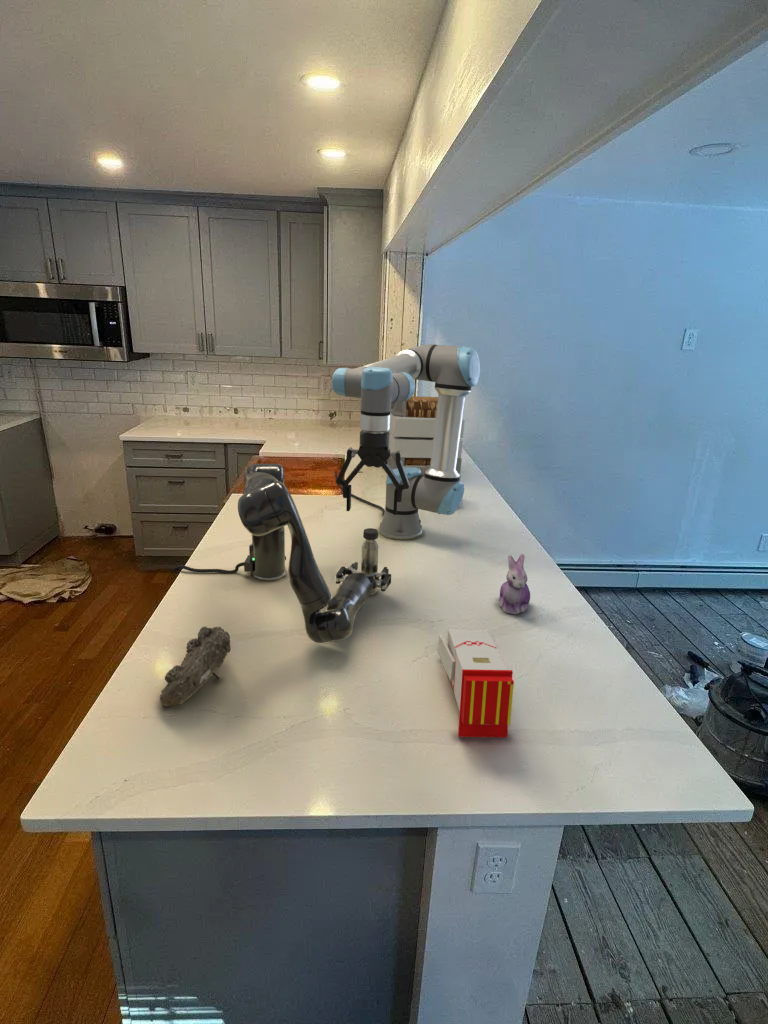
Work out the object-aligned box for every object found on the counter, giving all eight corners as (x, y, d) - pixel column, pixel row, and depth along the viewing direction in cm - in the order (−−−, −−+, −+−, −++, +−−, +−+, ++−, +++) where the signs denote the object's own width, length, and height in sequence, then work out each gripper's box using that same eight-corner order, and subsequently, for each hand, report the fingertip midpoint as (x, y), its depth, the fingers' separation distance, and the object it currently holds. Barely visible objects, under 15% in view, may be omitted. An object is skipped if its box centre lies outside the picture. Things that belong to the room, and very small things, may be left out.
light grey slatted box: (382, 463, 289) (386, 382, 275) (445, 464, 293) (451, 384, 279) (390, 482, 257) (394, 392, 243) (460, 483, 261) (468, 394, 247)
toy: (488, 613, 130) (523, 677, 101) (484, 667, 133) (517, 744, 104) (435, 612, 130) (455, 676, 101) (432, 666, 133) (451, 743, 103)
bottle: (364, 596, 156) (366, 536, 150) (357, 589, 160) (359, 530, 154) (379, 593, 158) (382, 534, 152) (372, 586, 162) (374, 528, 155)
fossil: (184, 629, 128) (231, 598, 123) (214, 657, 131) (261, 628, 126) (138, 700, 109) (191, 667, 104) (173, 731, 112) (227, 701, 107)
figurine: (512, 619, 147) (519, 566, 142) (488, 601, 156) (494, 551, 151) (540, 611, 151) (548, 560, 146) (515, 594, 160) (522, 546, 155)
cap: (366, 541, 151) (367, 534, 150) (360, 535, 154) (360, 529, 153) (380, 538, 152) (380, 532, 152) (374, 533, 156) (374, 527, 155)
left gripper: (380, 584, 140) (396, 559, 155) (326, 575, 144) (347, 551, 159) (379, 611, 143) (395, 583, 158) (326, 601, 146) (346, 575, 161)
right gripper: (422, 430, 146) (417, 510, 153) (330, 424, 148) (329, 503, 155) (421, 436, 139) (416, 519, 146) (325, 430, 141) (324, 512, 148)
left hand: (371, 567), depth 158 cm, fingers open, 8 cm apart
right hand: (371, 511), depth 151 cm, fingers open, 12 cm apart
